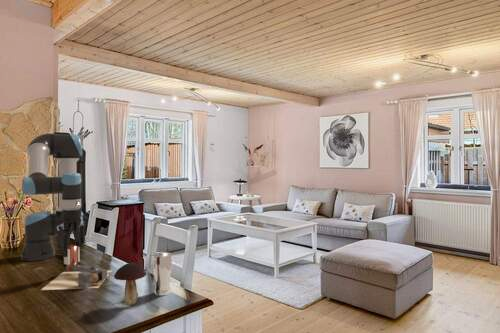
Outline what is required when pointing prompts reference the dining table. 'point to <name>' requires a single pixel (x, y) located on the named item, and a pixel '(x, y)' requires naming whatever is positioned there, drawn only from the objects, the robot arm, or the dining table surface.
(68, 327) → the dining table surface
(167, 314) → the dining table surface
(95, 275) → the walnut
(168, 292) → the beer glass
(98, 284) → the tapered cream board
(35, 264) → the dining table surface
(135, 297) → the decorative mushroom
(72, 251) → the lever
